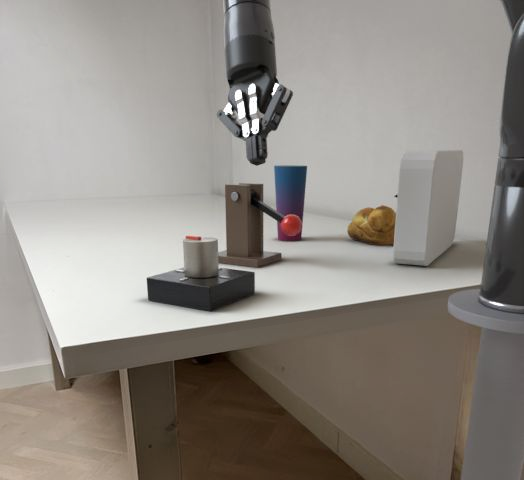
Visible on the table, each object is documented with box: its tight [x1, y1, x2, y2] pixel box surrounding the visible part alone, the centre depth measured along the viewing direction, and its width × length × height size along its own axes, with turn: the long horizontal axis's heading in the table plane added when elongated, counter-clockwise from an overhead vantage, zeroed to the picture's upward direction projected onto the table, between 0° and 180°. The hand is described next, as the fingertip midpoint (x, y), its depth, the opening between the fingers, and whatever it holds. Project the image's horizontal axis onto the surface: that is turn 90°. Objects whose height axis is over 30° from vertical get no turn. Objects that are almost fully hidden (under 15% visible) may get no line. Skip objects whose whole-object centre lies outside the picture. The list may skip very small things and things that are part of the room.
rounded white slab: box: [392, 149, 464, 267], centre depth 100 cm, size 29×8×18 cm, turn 153°
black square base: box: [146, 267, 256, 312], centre depth 72 cm, size 10×10×3 cm
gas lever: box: [251, 189, 303, 236], centre depth 91 cm, size 13×3×3 cm, turn 58°
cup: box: [273, 164, 308, 242], centre depth 116 cm, size 7×7×15 cm
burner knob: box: [182, 234, 220, 278], centre depth 71 cm, size 4×4×5 cm
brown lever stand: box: [218, 182, 283, 268], centre depth 94 cm, size 10×8×13 cm
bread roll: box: [346, 204, 396, 246], centre depth 114 cm, size 13×10×8 cm
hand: (257, 163), depth 82 cm, fingers closed
